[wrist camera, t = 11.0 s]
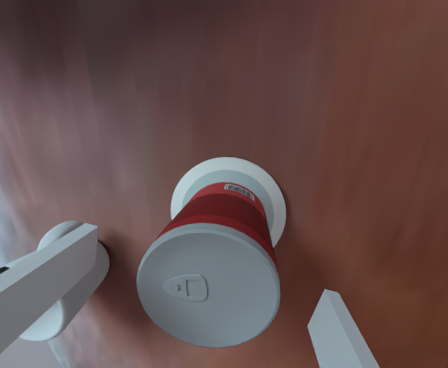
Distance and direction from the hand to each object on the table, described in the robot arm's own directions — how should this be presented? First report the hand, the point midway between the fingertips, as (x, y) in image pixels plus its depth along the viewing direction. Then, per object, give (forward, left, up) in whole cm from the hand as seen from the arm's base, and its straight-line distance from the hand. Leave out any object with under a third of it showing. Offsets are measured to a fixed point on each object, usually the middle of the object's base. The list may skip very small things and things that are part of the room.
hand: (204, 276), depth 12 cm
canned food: (0, 0, -10) cm, 10 cm away
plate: (0, 0, -11) cm, 11 cm away
